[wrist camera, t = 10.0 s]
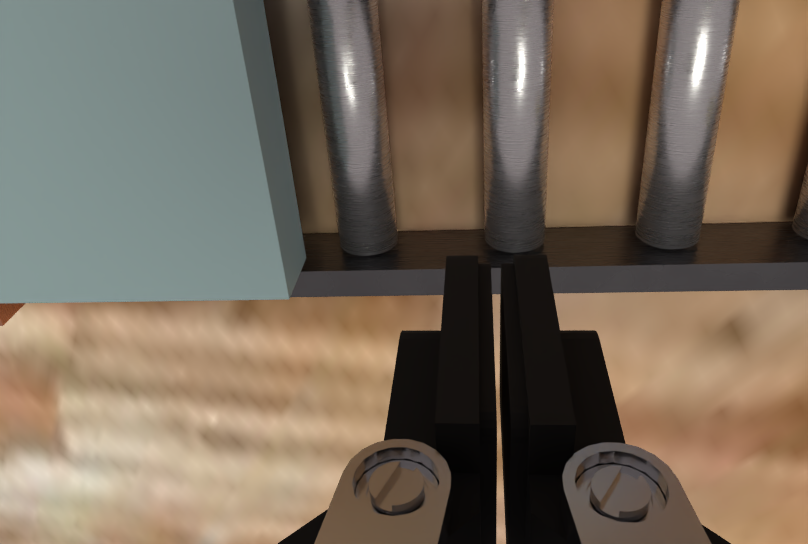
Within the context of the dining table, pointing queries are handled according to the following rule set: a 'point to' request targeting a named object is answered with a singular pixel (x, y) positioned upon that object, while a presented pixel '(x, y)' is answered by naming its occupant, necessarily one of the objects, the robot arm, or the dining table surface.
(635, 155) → the dining table surface
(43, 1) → the slab
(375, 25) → the roller track
